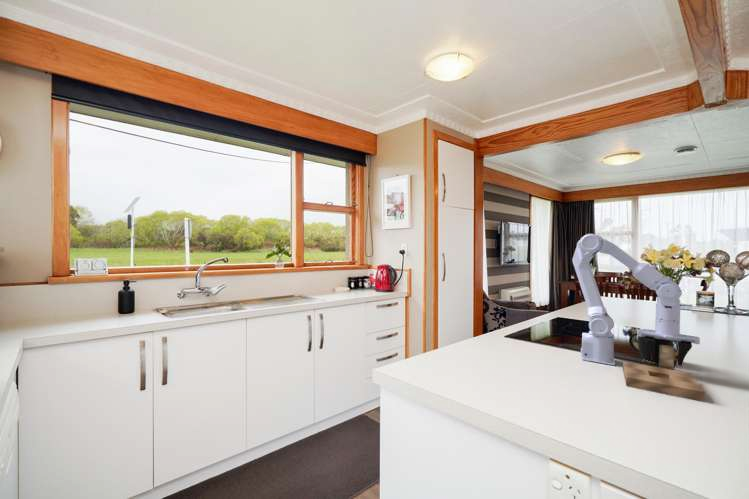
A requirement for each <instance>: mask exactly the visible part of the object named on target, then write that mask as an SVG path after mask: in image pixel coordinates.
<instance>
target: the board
mask: <svg viewBox="0 0 749 499" xmlns="http://www.w3.org/2000/svg"><path fill="white" fill-rule="evenodd" d="M622 371H623V375H624V376H623V377H624V381H625V386H626V387H629V388H630V387H631V388H633V389H634V388H635V389H640V390H644V389H645V391H649V390H650V391H649V392H654V391H655V393H659V392H660V393H659V394H664V393H665V395H668V394H670V395H669V396H673V395H674V396H675V397H678V398H679V397H680V398H682V399H683V398H685V399H689V400H693V401H700V402H703V403H705V402H706V392H705V390H704V389H703V387H702V386H701V384H700V383H699V382H698V380H696V378H695V376H694V375H693V374H692V373H691V372H686V371H680V370H675V369H674V370H669V369H663V368H659V366H658V367H657V366H650V365H644V364H639V363H633V362H627V361H623V362H622Z"/></svg>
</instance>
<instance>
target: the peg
mask: <svg viewBox="0 0 749 499" xmlns="http://www.w3.org/2000/svg"><path fill="white" fill-rule="evenodd" d="M675 350H676V349H675V347H674V346H672V345H671V346H667V345H659V364H657V365H658V368H663V369H669V370H675Z"/></svg>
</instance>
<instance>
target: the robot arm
mask: <svg viewBox="0 0 749 499" xmlns="http://www.w3.org/2000/svg"><path fill="white" fill-rule="evenodd" d="M598 253H601V254H605V255H609V256H611V257H613V258H614V259H615V260H617V261H618V262H619V263H621V264H623V265H624V266H626V267H627V268H629V269H630V270H631V272H632V277H633V278H634V279H636V280H638V282H639V283H642V285H644V286H645V287H647V288H648V289H649V290H651V291H652V290H653V291H655V294H656V295H657V302H656V304H655V328H654V330H655V331H651V330H652V329H650V330H639V328H638V329H637V332H636V333H637V335H638V336H639V337H642V336H643V337H644V338H645V340H646V342H647V344H648V347H649V350H650V353H651V360H652V361H654V362H655V343H656V342H655V339H654V338H658V339H665V340H671V341H675V342H677V347H678V353H677V365H678V366H680V367H682V366H683V363H684V360H685V357H686V356H687V354H688V353H689V352H690V350H691V349H692V347H693V344H694V345H700V343H701V338H700V337H699V336H696V335H695V336H693V335H687V334H683V333H681V332H680V331H681V330H680V328H681V306H680V304H681V297H682V294H683V292H682V289H681V288H680V286H679V284H677V282H676V281H674V280H671V277H670V276H669V275H668V276H666V275H664V274H663V273H662V272H660V271H659V270H657V269H656V268H657V266H656V265H654V264H652V265H650V264H649V263H640V262H639V261H638V260H636V259H635V258H633V257H632V256H631V255H629V254H628V253H627V252H625V250H623V249H622V248H621V247H619V246H618V245H617V244H616V243H614V242H611V241H610V240H607V239H606V238H604V237H602V236H601V235H599V234H595V233H587V234H585V235H583V236H582V237H580V240H578V241H577V243H576V248H575V250H574V253H573V256H572V265H573V267H574V270H575V273H576V276H577V279H578V282H579V285H580V288H581V292H582V294H583V298H584V301H585V304H586V308H587V313H588V319H589V322H588V328H589V331H588V332H582V334H581V336H582V337H581V348H580V354H581V360H583V361H588V362H594V363H599V364H605V365H610V366H616V361H615V357H614V351H615V350H614V345H615V335H614V333H612V330H613V328H614V326H615V325H614V324H615V322H614V319H613V318H612V317H611V316H610V315H609V313H608V312H607V308H606V306H604V303H603V299H602V297H601V294H600V290H599V288H598V285H597V282H596V279H595V275H594V274H593V270H592V267H591V265H590V262H591V260H592V259H593V258H594V257H595V255H597V254H598ZM637 335H636V336H637ZM638 336H637V337H638Z"/></svg>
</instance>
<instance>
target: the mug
mask: <svg viewBox="0 0 749 499" xmlns="http://www.w3.org/2000/svg"><path fill="white" fill-rule="evenodd" d="M638 329H639V328H638ZM639 330H651V331H655V329H649V328H647V329H646V328H640V329H639ZM635 336H637V342H638V343H637V344H638V348H637V347H636V346H635V345H634V344H633V338H634V337H635ZM654 339H655V342H656V343H655V363H659V345H667V346H672V340H665V339H658V338H654ZM628 343H629V345H630V347H631V348H632V349H633V350H634V351H636V352H638V353H639V356H640V358H641V360H643V359H645V360H648V361H651V362H654V361H652V360H651V353H650V350H649V347H648V344H647V342H646V340H645V338H644V337H643V336H642V337H639V336H638V335H637V332H635V333H633V334H631V335H630V337H629V338H628ZM655 363H654V364H655Z"/></svg>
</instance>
